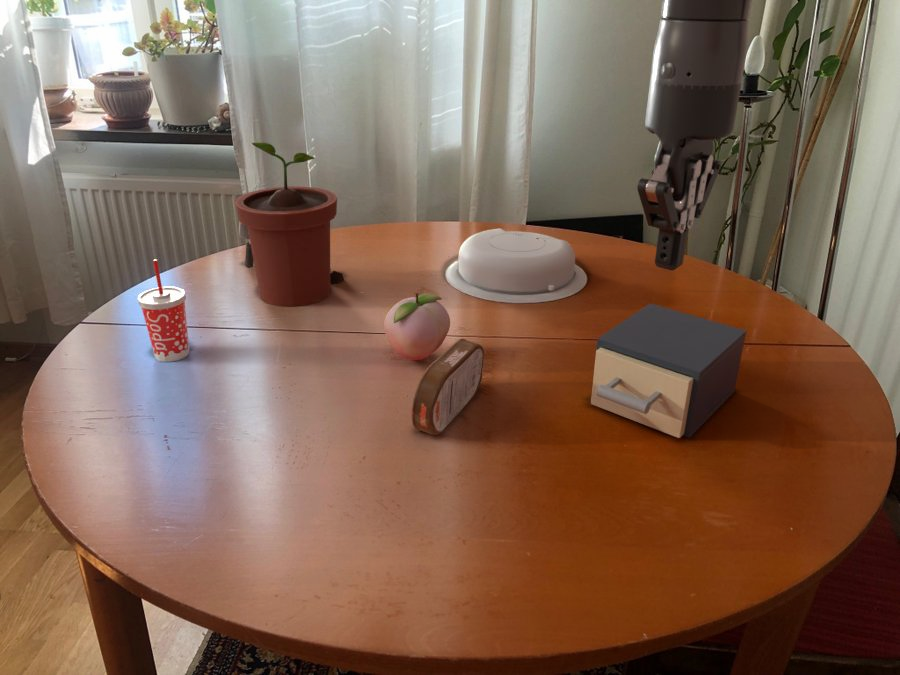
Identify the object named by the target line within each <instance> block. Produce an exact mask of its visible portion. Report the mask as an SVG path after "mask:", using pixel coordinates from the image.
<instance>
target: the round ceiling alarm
mask: <svg viewBox="0 0 900 675" xmlns="http://www.w3.org/2000/svg"><path fill="white" fill-rule="evenodd" d="M444 275H445V276H444V277H445V280H446V282H447V283H448V284H449V285H450V286H451V287H452V288H454V289H455V290H457V291H458V292H461V293H463V294H465V295H469V296H470V297H474V298H477V299H481V300H486V301H491V302H497V303H506V304H540V303H547V302H548V303H549V302H552V301H553V302H554V301H558V300H562V299H565V298H568V297H571V296H573V295H575V294H577V293H579V292H581V291H582V290H583V289H584V288H585V286H586V285H587V283H588V276H587V274H586V272H585V271H584V270H583V268H581V267H580V266H579V265H577V264H576V254H575V251H574V249H573V247H572V245H571V244H570V243H569V242H568V241H567V240H565V239H559V238H557V237H553V236H550V235H547V234H542V233H537V232H531V231H517V230H511V231H509V230H508V231H507V230H506V231H505V229H502V228H492V229H491V228H490V229H487V230H483V231H480V232H476V233H475V234H472V235H470V236H469V237H467V238H466V239H465V240H464V241H463V242H462V244H461V245H460V247H459V250H458V259H457V260H455V261H454V262H452V263H451V264H449V266H448V267H447V268H446V269H445V274H444Z"/></svg>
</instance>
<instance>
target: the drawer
mask: <svg viewBox="0 0 900 675" xmlns="http://www.w3.org/2000/svg"><path fill="white" fill-rule="evenodd" d="M596 350H597V349H596ZM594 359H595V360H594V368H593V379H592V389H591V396H590V398H591V399H590V405H593V406H594V407H597V408H600V409H602V410H605V411H608V412H611V413H613V414H615V415H618V416H621V417H623V418H626V419H629V420H631V421H634V422H636V423H639V424H641V425H644V426H646V427H649V428H651V429H654V430H657V431H659V432H661V433H664V434H667V435H670V436H672V437H675V438H677V439H681V438H682V437H683V436H682V435H683V434H684V431H685V425H686V419H687V413H688V408H689V402H690V396H691V390H692V384H693V378H692V377H691V376H688V375H685V374H684V375H682V374H679V373H676V372H673V371H670V370H667V369H664V368H661V367H658V366H655V365H652V364H649V363H646V362H643V361H640V359H637V358H634V357H631V356H628V355H625V354H623V353H620V352H617V351H614V350H612V351H610V350H607V349H604V348H600V349H598V350H597V351H595V358H594Z"/></svg>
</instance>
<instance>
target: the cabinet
mask: <svg viewBox="0 0 900 675" xmlns="http://www.w3.org/2000/svg"><path fill="white" fill-rule="evenodd" d="M746 335H747V330H746V329H742V328H738V327H735V326H731V325H728V324H725V323H721V322H717V321H714V320H712V319H711V320H710V319H707V318H703V317H699V316H696V315H693V314H690V313H686V312H683V311H679V310H675V309H672V308H668V307H665V306H661V305H657V304H653V303H649V304H647V305H645V306H644V307H642V308H641V309H640V310H638V311H637V312H635V313H633V314H632V315H630V316H629V317H628V318H626V319H624V320H623V321H622V322H620V323H619V324H617V325H615V326H614V327H612V328H611V329H610V330H608V331H607V332H605V333H604V334H602V335H600V336H599V337H598V338H597V340H596V349H595V350H596V351H597V350H598V349H600V348H604V349H607V350H610V351H612V350H614V351H617V352H620V353H623V354H625V355H628V356H631V357H634V358H637V359H640V360H643V361H646V362H649V363H652V364H655V365H658V366H661V367H664V368H667V369H670V370H673V371H676V372H679V373H682V374H685V375H688V376H691V377H692V378H693V384H692V390H691V396H690V402H689V408H688V413H687V419H686V425H685V431H684V434H683V435H682V436H681V437H685V438H687V439H689V438H691V437H692V436H693V434H695V433H696V432H697V430H698V429H699V428H700V427H701V426H702V425H703V424H704V423H705V422H706V421H707V420H708V419H709V418H710V417H711V416H712V415H713V414H714V413H715V412H716V411H717V410H718V409H719V408H720V407H721V406H722V405H723V404H724V403H725V402H726V401H727V400H728V398H729V397H731V396H732V394H733V393H734V392H735V390H736V384H737V380H738V375H739V374H738V373H739V371H740V370H739V369H740V364H741V360H742V354H743V350H744V345H745V340H746ZM596 351H595V352H596Z"/></svg>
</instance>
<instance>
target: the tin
mask: <svg viewBox="0 0 900 675" xmlns="http://www.w3.org/2000/svg"><path fill="white" fill-rule="evenodd" d="M485 353H486V352H485V348H484V347H483V346H482V345H481V344H479V343H477V342H473V341H470V340H467V339H466V338H459V339H458V340H457V341H455V342H454V343H453V344H452V345H451V346H450V347H449V348H448V349H446V350H445V351H444V352H443V353H442V354H441V355H440V356H438V358H436V359H435V360H434V361H433V362H432V363H430V365H429V366H428V367H427V368H426V369H425V371H424V373H423V374H422V376H421V378H420V380H419V382H418V384H417V387H416V389H415V392H414V396H413V400H412V406H411V423H412V427H413V429H415V430H416V431H417V432H418V431H419V432H424V433H426V434H430V435H432V436H433V435H434V436H439V435H440V434H442V432H443V431H444V429H445V428H447V426H448V425H449V424H450V423H451V422H452V421H453V420H454V419H455V417H456V416H457V415H458V414H459V413H460V412H461V411H462V410H463V409H464V407H465V406H466V405H467V404H468V402H469V401H470V400H471V399H472V398H473V397H474V396H475V395H476V394H477V393H478V391H479V388H480V385H481V382H482V380H483V368H484V360H485V357H484V356H485Z"/></svg>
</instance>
